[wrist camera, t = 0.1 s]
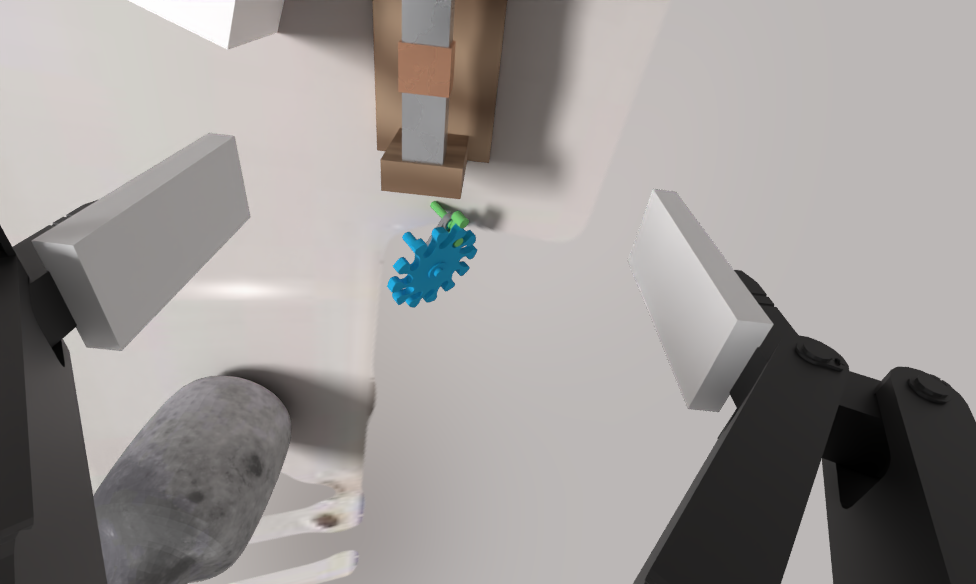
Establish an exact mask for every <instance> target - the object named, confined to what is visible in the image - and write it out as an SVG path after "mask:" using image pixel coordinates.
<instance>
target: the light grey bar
mask: <svg viewBox="0 0 976 584" xmlns="http://www.w3.org/2000/svg"><path fill="white" fill-rule="evenodd" d="M454 10H455V0H402V39H401V40H400V41H399V42H398V92H402V161H409V162H418V163H427V164H436V165H443V163H444V159H445V155H446V152H447V136H448V118H449V100H450V94H451V91H452V88H453V82H454V65H455V48H456V41H453V28H454Z"/></svg>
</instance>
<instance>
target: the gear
mask: <svg viewBox="0 0 976 584" xmlns="http://www.w3.org/2000/svg"><path fill="white" fill-rule="evenodd" d="M430 206H431V208H432V209H433V210H434V211H435V212H436V213H437V214H438V215H439V216H440V217H441V218H442V219H441V221H440V222H439V224H438V226H437V227H436V228H434V229H433V231H432V235H431V236H430V238H429V240H428V241H427V243H425V242H424V241H423V240H422V239H421V238H420V239H418V240H417V239H415V237H414V236H413V235H412V234H411V233H410V232H407V233H405V234H404V235H403V237H402V238H403V240H404V241H405V242H406V243H407V244H408V246H409V247H410V248H411V249H412V251H413V252H414V253H415V260H414V262H413V263H412V264H409V262H408V261H407V260H406V259H405V258H404V257H401V258H400V259H399V260H397V262H396V263H395V264H394V265H393V267H394V268H395V270H396V271H397V272H398V273H399V274H408V275H407V276H406V277H405V278H403V279H399V278H398V277H397V276H394V277H392V278H390V280H389V282H388V285H387V287H388V288H389V289H390V290H391V292H393V294H392V296H393V299H394V300H395V301H396V302H397V304H398V305H400V304H402V303H403V302H405V301H406V303H407V304H408V305H409V306H410V307H416V306H417V305H418V304H419V302H420V300H421V298H423V299H424V300H425V301H426V302H431V301H434V300H435V299H436V298H437V291H438V289H439V287H440V286H441V287H442V288H443V289H444V291H448V290H450V289H451V288H453V287H454V286H455V283H454V282H453V281H452V274H453V272H454V271H455V270H456V271H457V273H458V274H459V275H460V276H463V275H464V274H465V273H466V272H467V271H468V270H469V266H468V265H467V264H466V263H465V262H463V261H462V262H459V261H460V259H461V258H462V257H464V256H466V257H467V258H468V259H472V258H473V257H474V256H475V254H476V252H477V249H476V248H475V247H474V246H473V245H472V244H474V243H475V241H476V237H475V235H474V233H472V231H471V230H468V231H465V230H464V229H463V228H465V227H466V226H467V225H468V223H469V220H468V219H467V218H466V217H465V216H464V215H463V214H462V213H461V212H460V211H456V212H454V213H453V212H449V213H447V212H446V211H445V210H444V209H443V208H442V207H441V206H440V205H439V204H438V203H437V202H436V201H434V202H432V203H431V205H430ZM465 245H467V246H466V247H464V248H462V247H463V246H465ZM403 288H405V289H403Z"/></svg>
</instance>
